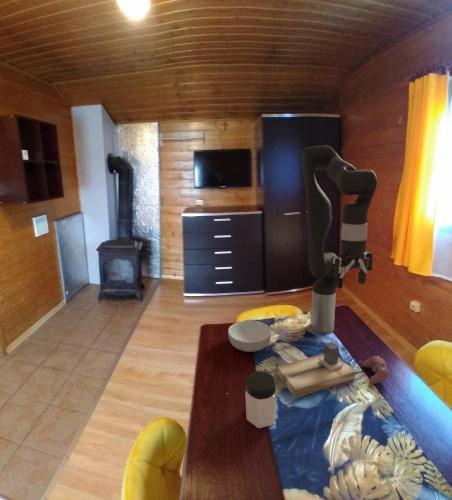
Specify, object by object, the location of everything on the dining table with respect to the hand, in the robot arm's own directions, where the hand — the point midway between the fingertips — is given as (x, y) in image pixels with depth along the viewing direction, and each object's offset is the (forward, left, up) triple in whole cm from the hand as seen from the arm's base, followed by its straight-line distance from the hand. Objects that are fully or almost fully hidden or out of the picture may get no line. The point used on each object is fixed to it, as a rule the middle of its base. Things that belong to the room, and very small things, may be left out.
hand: (350, 285), depth 98 cm
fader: (+1, -7, -27) cm, 28 cm away
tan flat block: (+1, -13, -30) cm, 33 cm away
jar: (+9, -37, -30) cm, 48 cm away
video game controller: (+8, +6, -30) cm, 32 cm away
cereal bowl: (-24, -26, -30) cm, 47 cm away
